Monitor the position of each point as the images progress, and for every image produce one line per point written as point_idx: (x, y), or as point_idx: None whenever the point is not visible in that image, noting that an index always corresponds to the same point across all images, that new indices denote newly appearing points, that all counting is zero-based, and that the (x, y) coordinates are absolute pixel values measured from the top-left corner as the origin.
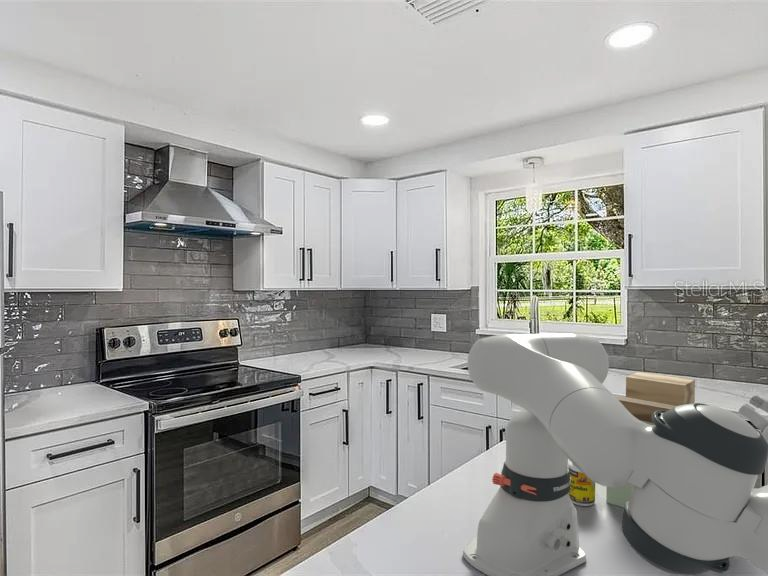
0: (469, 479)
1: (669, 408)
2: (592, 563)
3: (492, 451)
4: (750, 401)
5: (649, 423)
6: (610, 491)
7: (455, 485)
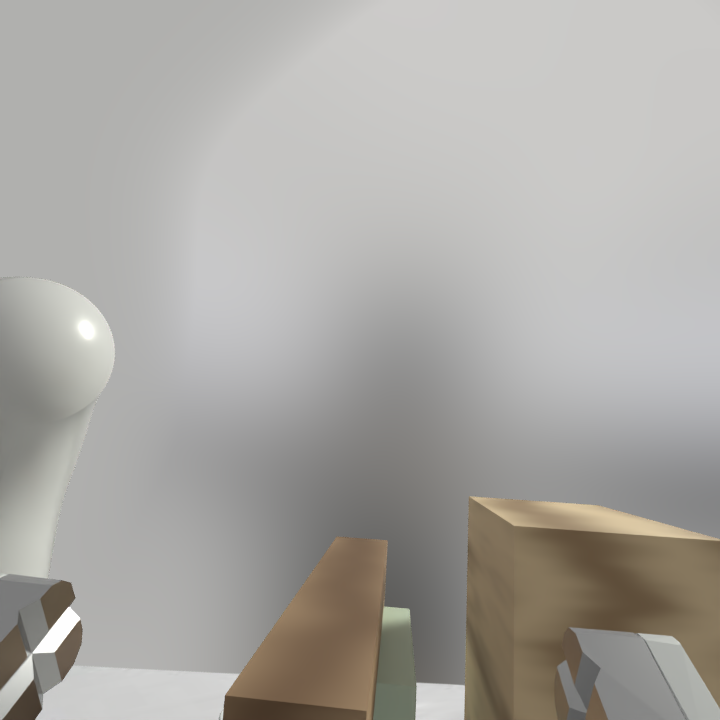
0: None
1: (304, 597)
2: None
3: None
4: (555, 690)
5: None
6: None
7: (192, 687)
